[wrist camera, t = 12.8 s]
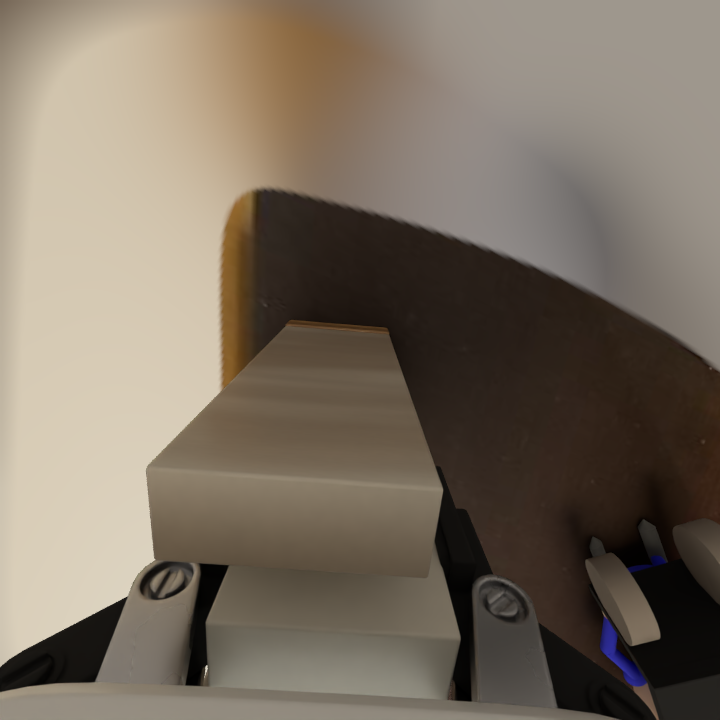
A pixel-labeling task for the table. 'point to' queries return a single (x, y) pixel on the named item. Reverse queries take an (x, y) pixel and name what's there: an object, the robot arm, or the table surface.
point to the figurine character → (665, 619)
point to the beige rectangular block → (333, 632)
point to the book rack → (303, 464)
